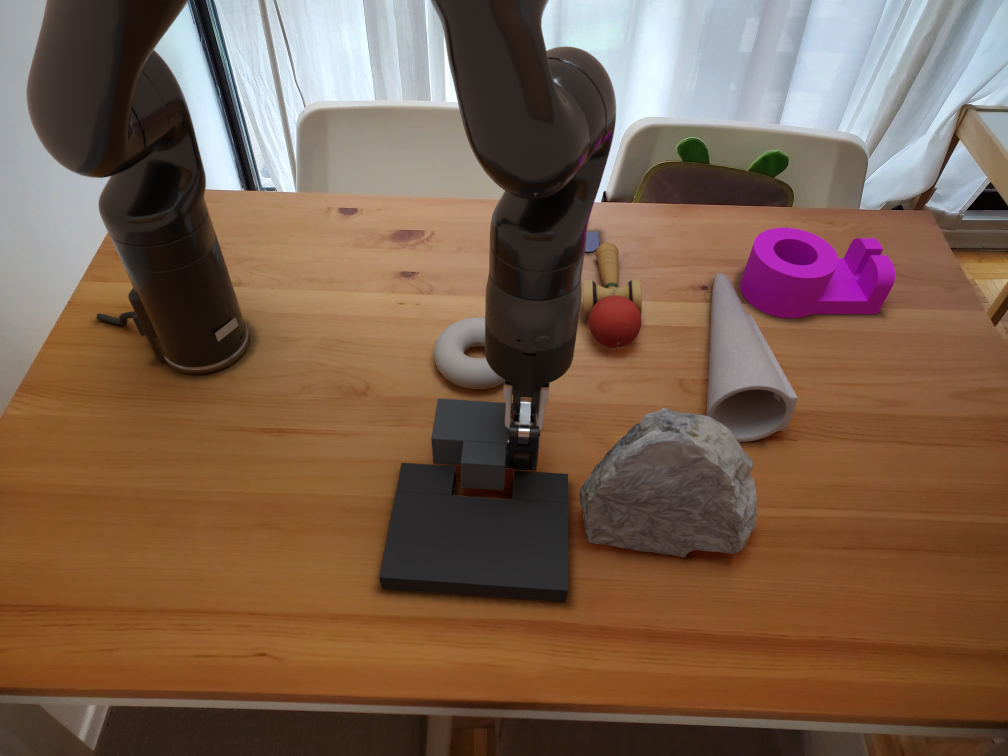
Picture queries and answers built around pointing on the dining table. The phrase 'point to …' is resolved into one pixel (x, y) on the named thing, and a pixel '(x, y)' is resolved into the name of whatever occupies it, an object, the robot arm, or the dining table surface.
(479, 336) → the donut
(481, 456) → the grey pad
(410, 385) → the dining table surface
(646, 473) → the decorative rock
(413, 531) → the black pad
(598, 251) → the kendama
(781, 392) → the grey hollow cone
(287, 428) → the dining table surface
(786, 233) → the tape dispenser
